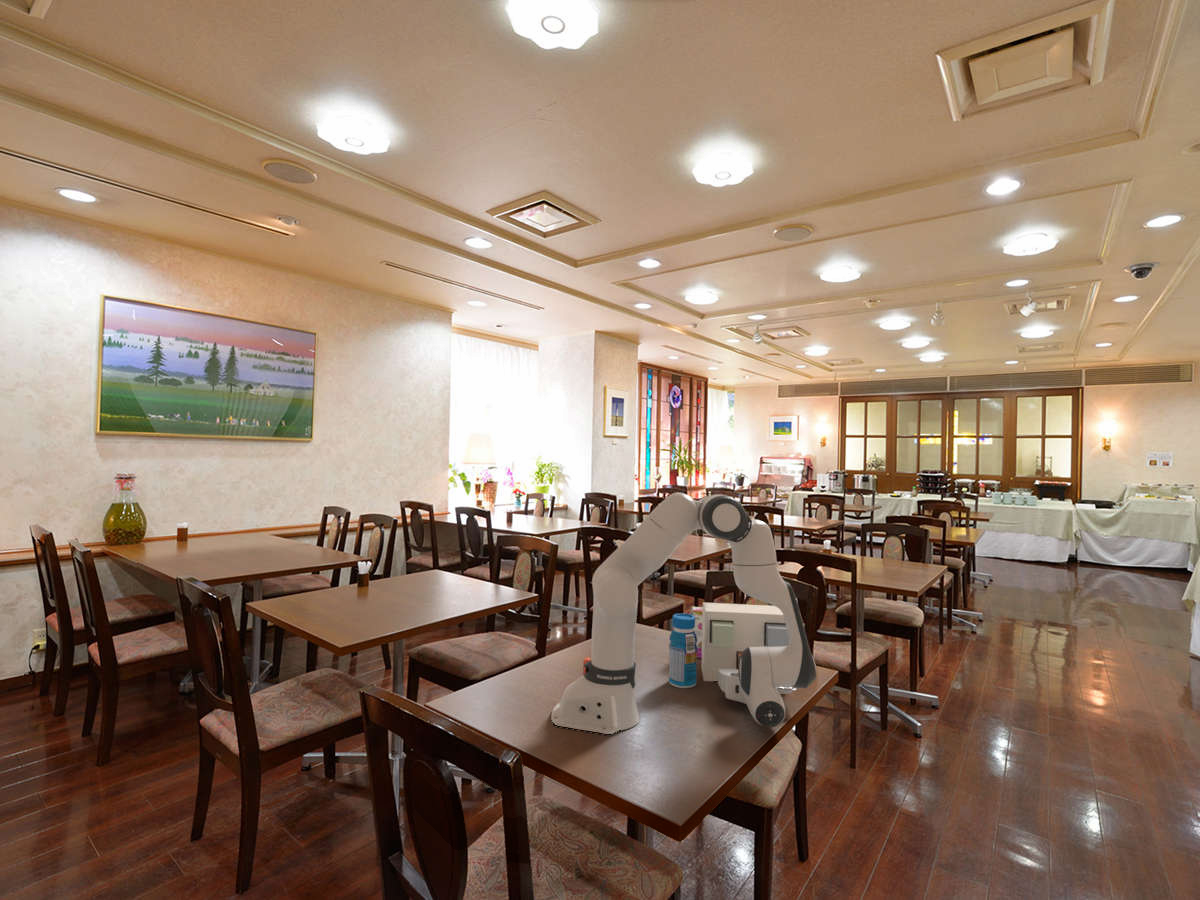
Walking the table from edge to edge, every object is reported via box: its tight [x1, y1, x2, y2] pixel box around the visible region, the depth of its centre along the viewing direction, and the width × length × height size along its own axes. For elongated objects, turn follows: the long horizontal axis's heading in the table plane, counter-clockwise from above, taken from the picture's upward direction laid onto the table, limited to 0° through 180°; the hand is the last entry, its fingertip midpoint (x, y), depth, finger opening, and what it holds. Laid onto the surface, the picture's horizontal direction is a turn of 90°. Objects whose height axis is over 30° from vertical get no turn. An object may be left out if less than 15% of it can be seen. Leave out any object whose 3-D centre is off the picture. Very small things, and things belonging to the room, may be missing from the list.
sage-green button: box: [711, 620, 734, 647], centre depth 174 cm, size 6×6×6 cm
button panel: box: [700, 602, 790, 682], centre depth 180 cm, size 26×10×21 cm, turn 84°
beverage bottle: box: [668, 613, 698, 689], centre depth 173 cm, size 8×8×20 cm
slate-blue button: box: [765, 622, 790, 647], centre depth 173 cm, size 6×6×6 cm
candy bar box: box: [690, 606, 703, 660], centre depth 196 cm, size 11×5×16 cm, turn 84°
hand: (750, 669), depth 169 cm, fingers closed
